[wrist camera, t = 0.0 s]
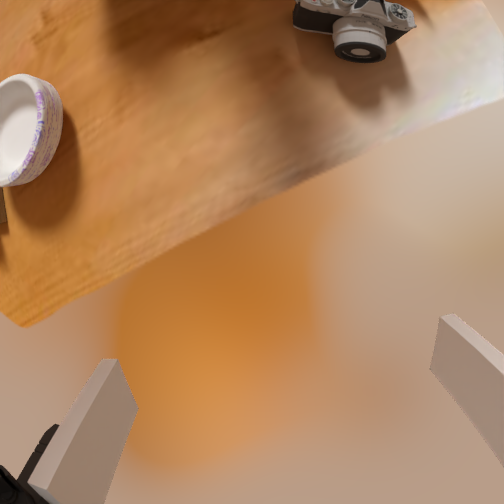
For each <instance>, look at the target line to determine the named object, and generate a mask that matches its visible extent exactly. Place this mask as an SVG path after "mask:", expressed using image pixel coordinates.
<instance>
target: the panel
mask: <svg viewBox="0 0 504 504" xmlns="http://www.w3.org/2000/svg"><path fill="white" fill-rule="evenodd" d="M6 221H7V217H6V211H5V205H4V198H3V191H2V187H0V223H3V222H6Z"/></svg>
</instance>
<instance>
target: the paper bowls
mask: <svg viewBox="0 0 504 504" xmlns="http://www.w3.org/2000/svg"><path fill="white" fill-rule="evenodd" d="M62 126H63V106H62V102H61V99H60V96H59V94H58V92H57V90H56V89H55V88H54V87H53V86H52V85H51V84H50V83H48V82H46V81H44V80H41V79H39V78H36V77H33V76H30V75H27V74H16V75H13V76H10V77H9V78H7V79H5V80H4V81H2V82H1V83H0V187H7V186H15V185H21V184H25V183H28V182H30V181H32V180H34V179H35V178H36V177H38V176H39V175H40V174H41V173H42V172H43V171H44V169H45V168H46V167H47V166H48V164H49V163H50V161H51V159H52V157H53V155H54V153H55V151H56V149H57V146H58V144H59V141H60V137H61V132H62Z"/></svg>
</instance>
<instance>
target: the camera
mask: <svg viewBox="0 0 504 504" xmlns="http://www.w3.org/2000/svg"><path fill="white" fill-rule="evenodd" d="M295 1H296V5H295V8H294V11H293V27H295V28H297V29H299V30H302V31H308V32H316V33H322V34H329V35H332V38H333V42H334V47H335V54H336V55H337V56H338V57H340V58H341V59H344V60H347V61H351V62H357V63H374V62H379V61H382V60H384V59H385V58H386V46H388V45H390V44H392V43H393V42H395V41H396V40H397V39H399V38H400V37H401V36H403V35H404V34H405V33H407V32H408V31H410V29H412V28H416V27H417V25H415V22H414V16H413V12H412V11H411V10H409V9H407V8H405V7H403V6H402V5H400V4H397V3H390V2H386V1H385V0H295Z"/></svg>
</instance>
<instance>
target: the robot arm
mask: <svg viewBox="0 0 504 504" xmlns="http://www.w3.org/2000/svg"><path fill="white" fill-rule="evenodd" d="M430 370H431V371H432V373H433V374H434V375H435V376H436V377H437V379H438V380H439V381H440V382H441V384H442V385H443V386H444V387H445V388H446V390H447V391H448V392H449V394H450V395H451V396H452V397H453V399H454V400H455V401H456V402H457V404H458V405H459V406H460V408H461V409H462V410H463V412H464V413H465V414H466V416H467V417H468V418H469V420H470V421H471V422H472V423H473V425H474V426H475V427H476V429H477V430H478V431H479V433H480V434H481V436H482V437H483V438H484V440H485V441H486V443H487V444H488V445H489V447H490V448H491V449H492V451H493V452H494V454H495V455H496V457H497V458H498V459H499V461H500V462H501V463H502V465H503V467H504V355H503V354H502V353H501V352H500V351H498V350H497V349H496V348H495V347H494V346H493V345H492V344H490V343H489V342H488V341H487V340H486V339H484V338H483V337H482V336H481V335H480V334H478V333H477V332H476V331H475V330H473V329H472V328H471V327H470V326H469V325H467V324H466V323H465V322H464V321H463V320H461V319H460V318H459V317H458V316H456V315H455V314H454V313H452V314H448V315H444V316H441V317H440V319H439V325H438V331H437V336H436V341H435V347H434V352H433V356H432V361H431V365H430ZM137 411H138V406H137V404H136V402H135V400H134V397H133V395H132V393H131V390H130V388H129V386H128V383H127V381H126V378H125V376H124V374H123V371H122V369H121V366H120V363H119V361H118V359H102V360H101V361H100V363H99V364H98V366H97V367H96V369H95V370H94V372H93V373H92V375H91V376H90V378H89V379H88V381H87V382H86V384H85V386H84V387H83V389H82V390H81V392H80V394H79V395H78V397H77V398H76V400H75V401H74V403H73V404H72V406H71V408H70V409H69V411H68V413H67V414H66V416H65V417H64V419H63V421H62V422H61V424H60V425H57V424H54V425H53V426H52V427H51V428H50V429H48V430H47V431H46V432H45V433H44V435H43V437H42V438H41V440H40V441H39V444H38V445H37V446H36V448H35V452H33V453H32V455H31V456H30V458H29V460H28V461H27V463H26V465H25V467H24V469H23V470H22V472H21V474H20V475H19V477H18V479H17V480H15V478H14V477H13V476H12V475H11V474H10V473H9V472H8V471H7V470H6V469H5V468H4V467H3V466H2V465H0V504H104V502H105V499H106V496H107V493H108V490H109V487H110V484H111V482H112V479H113V476H114V473H115V470H116V467H117V464H118V462H119V459H120V456H121V453H122V451H123V448H124V445H125V443H126V440H127V437H128V435H129V432H130V429H131V427H132V424H133V421H134V419H135V416H136V414H137Z"/></svg>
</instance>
